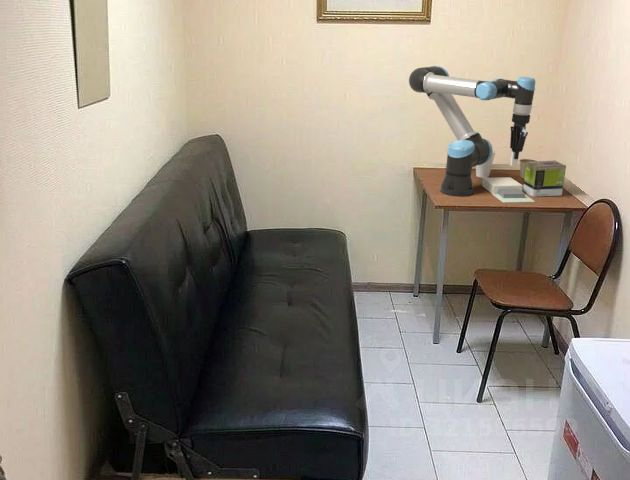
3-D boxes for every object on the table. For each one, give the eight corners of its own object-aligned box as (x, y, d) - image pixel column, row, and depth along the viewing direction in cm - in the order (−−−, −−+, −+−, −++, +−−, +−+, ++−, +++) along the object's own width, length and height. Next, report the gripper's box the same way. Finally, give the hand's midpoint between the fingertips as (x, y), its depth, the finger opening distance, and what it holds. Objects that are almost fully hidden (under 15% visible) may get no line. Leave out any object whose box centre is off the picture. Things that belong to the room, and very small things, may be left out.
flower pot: (534, 175, 328) (536, 159, 325) (537, 180, 319) (540, 164, 316) (515, 174, 329) (518, 158, 326) (518, 179, 320) (520, 162, 317)
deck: (493, 194, 295) (494, 186, 294) (481, 185, 308) (482, 177, 307) (521, 193, 297) (522, 185, 296) (509, 185, 310) (510, 177, 309)
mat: (503, 202, 283) (503, 202, 283) (492, 194, 295) (492, 193, 295) (535, 202, 285) (535, 201, 285) (523, 194, 297) (523, 193, 297)
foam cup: (472, 173, 330) (475, 148, 325) (490, 174, 329) (493, 149, 324) (474, 177, 321) (477, 152, 316) (492, 179, 320) (496, 153, 315)
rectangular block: (503, 198, 289) (503, 193, 288) (497, 193, 295) (498, 189, 294) (524, 198, 290) (525, 193, 289) (518, 193, 296) (519, 189, 295)
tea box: (551, 190, 304) (556, 159, 299) (562, 196, 295) (567, 165, 290) (521, 190, 302) (526, 160, 297) (532, 197, 293) (536, 166, 287)
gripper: (536, 116, 274) (527, 169, 283) (523, 110, 286) (515, 161, 295) (519, 116, 273) (511, 169, 282) (507, 110, 285) (499, 161, 294)
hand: (513, 165), depth 289 cm, fingers closed
